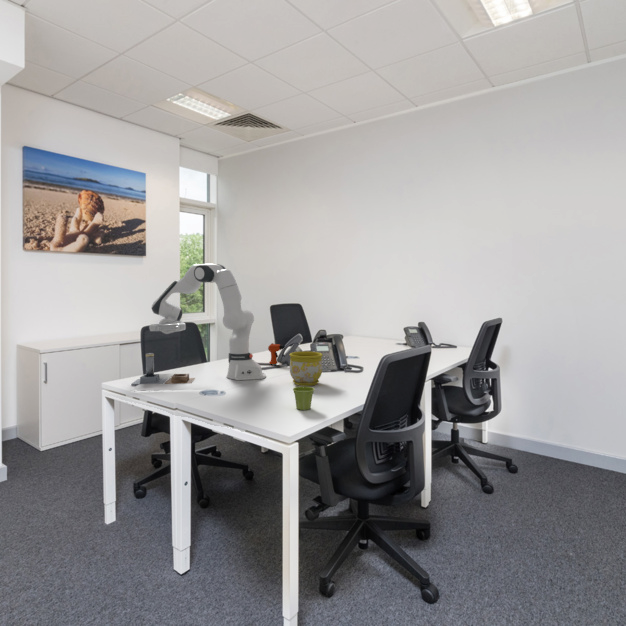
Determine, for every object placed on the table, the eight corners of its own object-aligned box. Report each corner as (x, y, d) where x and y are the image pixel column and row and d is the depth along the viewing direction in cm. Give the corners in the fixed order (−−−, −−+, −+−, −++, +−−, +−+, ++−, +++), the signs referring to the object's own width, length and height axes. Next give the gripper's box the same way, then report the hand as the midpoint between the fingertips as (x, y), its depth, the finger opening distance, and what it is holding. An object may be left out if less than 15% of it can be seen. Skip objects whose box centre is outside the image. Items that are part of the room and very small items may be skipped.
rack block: (167, 380, 240) (167, 373, 240) (162, 385, 229) (162, 377, 228) (137, 380, 238) (137, 373, 238) (131, 385, 227) (131, 378, 226)
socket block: (195, 379, 243) (195, 372, 243) (191, 385, 229) (191, 377, 229) (169, 379, 242) (169, 372, 241) (164, 385, 228) (164, 378, 227)
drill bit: (154, 380, 236) (154, 353, 235) (153, 381, 232) (152, 354, 231) (147, 380, 235) (146, 353, 234) (145, 382, 231) (144, 354, 230)
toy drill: (290, 365, 281) (287, 342, 281) (267, 366, 291) (265, 344, 291) (294, 364, 285) (292, 341, 285) (272, 365, 295) (270, 343, 295)
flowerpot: (322, 380, 244) (322, 351, 243) (322, 387, 226) (322, 356, 225) (290, 379, 245) (290, 351, 244) (288, 387, 227) (288, 356, 226)
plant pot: (290, 406, 191) (290, 386, 190) (311, 405, 193) (311, 385, 192) (294, 412, 182) (295, 391, 181) (316, 410, 184) (316, 390, 183)
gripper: (148, 321, 257) (149, 323, 244) (184, 320, 265) (186, 322, 252) (148, 332, 257) (149, 334, 245) (184, 330, 265) (186, 332, 252)
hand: (168, 328), depth 248 cm, fingers open, 8 cm apart
